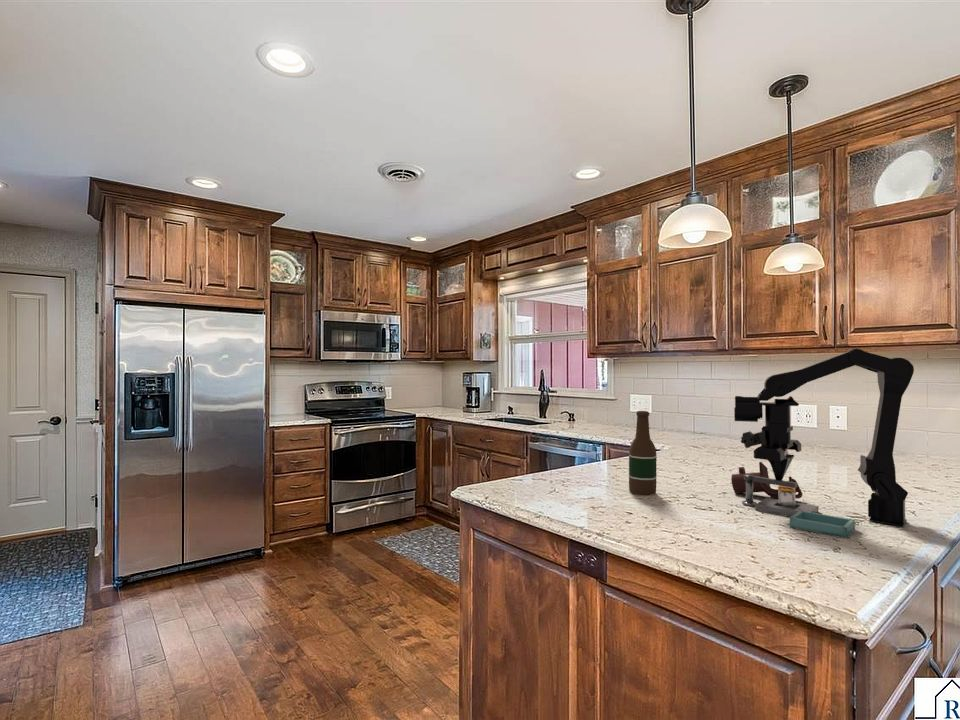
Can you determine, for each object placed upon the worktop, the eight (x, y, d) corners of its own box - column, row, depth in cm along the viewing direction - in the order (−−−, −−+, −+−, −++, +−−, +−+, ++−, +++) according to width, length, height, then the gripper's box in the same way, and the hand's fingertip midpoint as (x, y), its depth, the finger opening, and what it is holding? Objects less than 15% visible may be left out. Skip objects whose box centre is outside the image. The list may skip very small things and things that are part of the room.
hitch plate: (818, 511, 135) (818, 486, 136) (808, 519, 128) (808, 493, 128) (748, 500, 147) (748, 477, 147) (735, 506, 140) (735, 482, 140)
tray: (854, 529, 121) (854, 519, 121) (846, 538, 114) (846, 528, 114) (799, 519, 128) (799, 510, 128) (789, 527, 122) (789, 517, 122)
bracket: (800, 495, 142) (794, 458, 146) (733, 498, 152) (729, 464, 156) (804, 499, 146) (798, 464, 151) (739, 502, 156) (735, 469, 161)
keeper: (742, 479, 143) (742, 475, 143) (746, 478, 144) (746, 474, 144) (794, 488, 133) (794, 483, 133) (798, 487, 134) (798, 482, 134)
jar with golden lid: (797, 511, 136) (797, 487, 136) (793, 514, 133) (793, 489, 134) (780, 508, 139) (780, 484, 139) (776, 511, 136) (776, 487, 136)
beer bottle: (623, 490, 157) (623, 410, 158) (643, 488, 161) (643, 409, 161) (641, 496, 150) (641, 412, 151) (662, 494, 154) (662, 411, 154)
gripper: (757, 416, 150) (758, 471, 150) (731, 424, 137) (732, 483, 137) (801, 419, 142) (802, 477, 142) (779, 427, 129) (780, 491, 129)
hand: (778, 482), depth 138 cm, fingers closed, pressing on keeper
